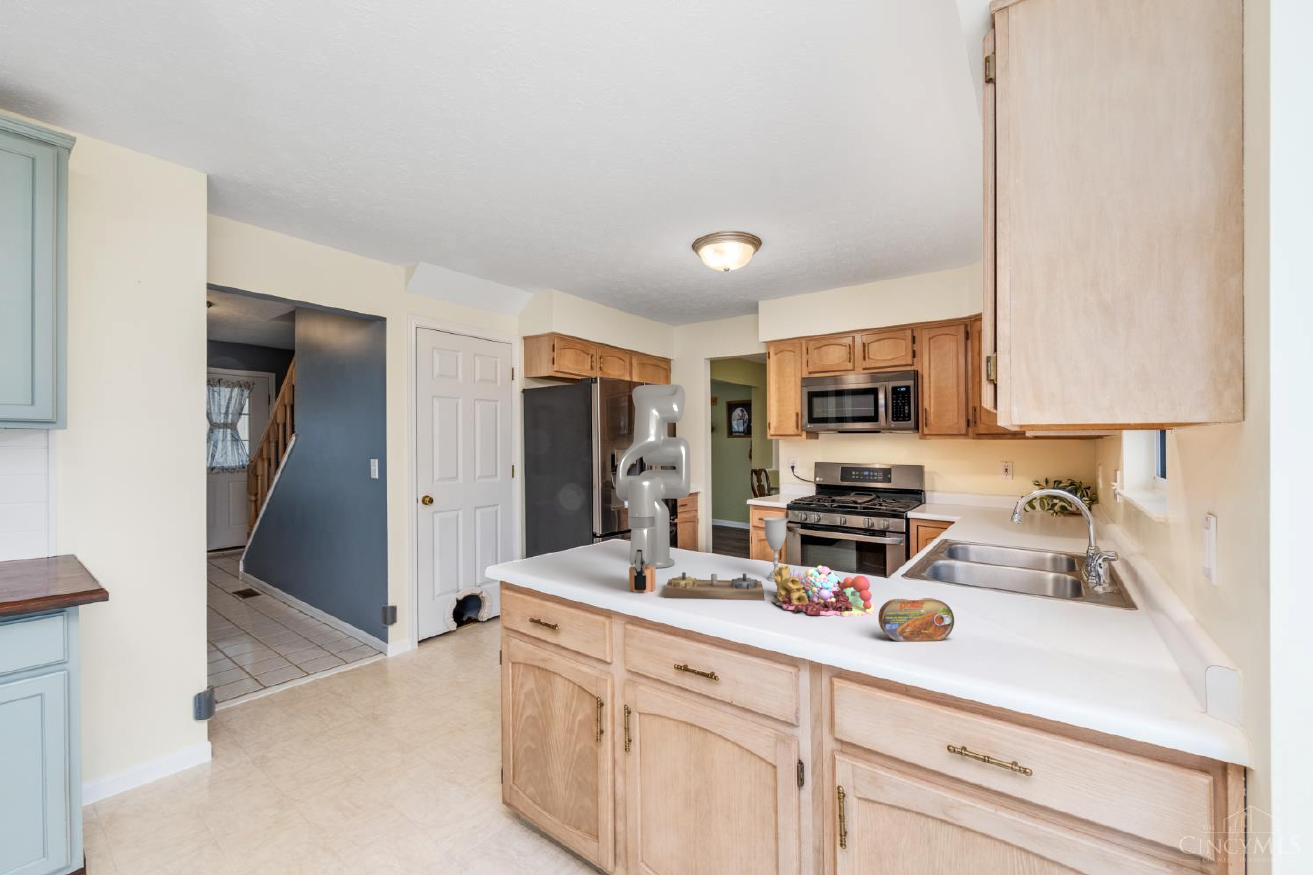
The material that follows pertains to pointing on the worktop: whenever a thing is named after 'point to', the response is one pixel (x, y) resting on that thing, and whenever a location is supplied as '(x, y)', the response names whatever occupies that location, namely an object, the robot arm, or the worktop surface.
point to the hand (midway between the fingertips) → (642, 585)
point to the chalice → (775, 538)
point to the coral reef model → (822, 593)
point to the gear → (649, 579)
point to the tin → (916, 619)
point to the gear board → (714, 588)
